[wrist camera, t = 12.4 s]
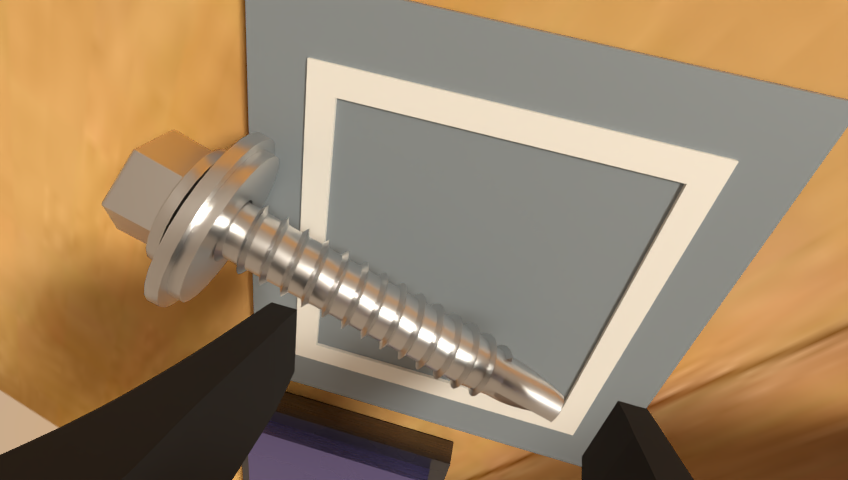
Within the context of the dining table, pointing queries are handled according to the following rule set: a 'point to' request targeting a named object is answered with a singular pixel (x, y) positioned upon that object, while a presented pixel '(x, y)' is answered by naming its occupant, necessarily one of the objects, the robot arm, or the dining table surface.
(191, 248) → the screw
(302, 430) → the ink pad
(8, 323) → the dining table surface
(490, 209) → the marked board
